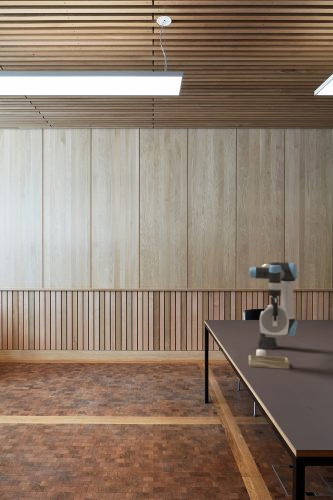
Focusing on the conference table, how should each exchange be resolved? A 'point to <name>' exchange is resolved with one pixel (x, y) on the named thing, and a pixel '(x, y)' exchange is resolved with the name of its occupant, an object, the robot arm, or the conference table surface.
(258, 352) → the white rounded cylinder
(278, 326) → the alarm clock
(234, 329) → the conference table surface
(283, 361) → the tray
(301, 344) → the conference table surface
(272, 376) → the conference table surface
